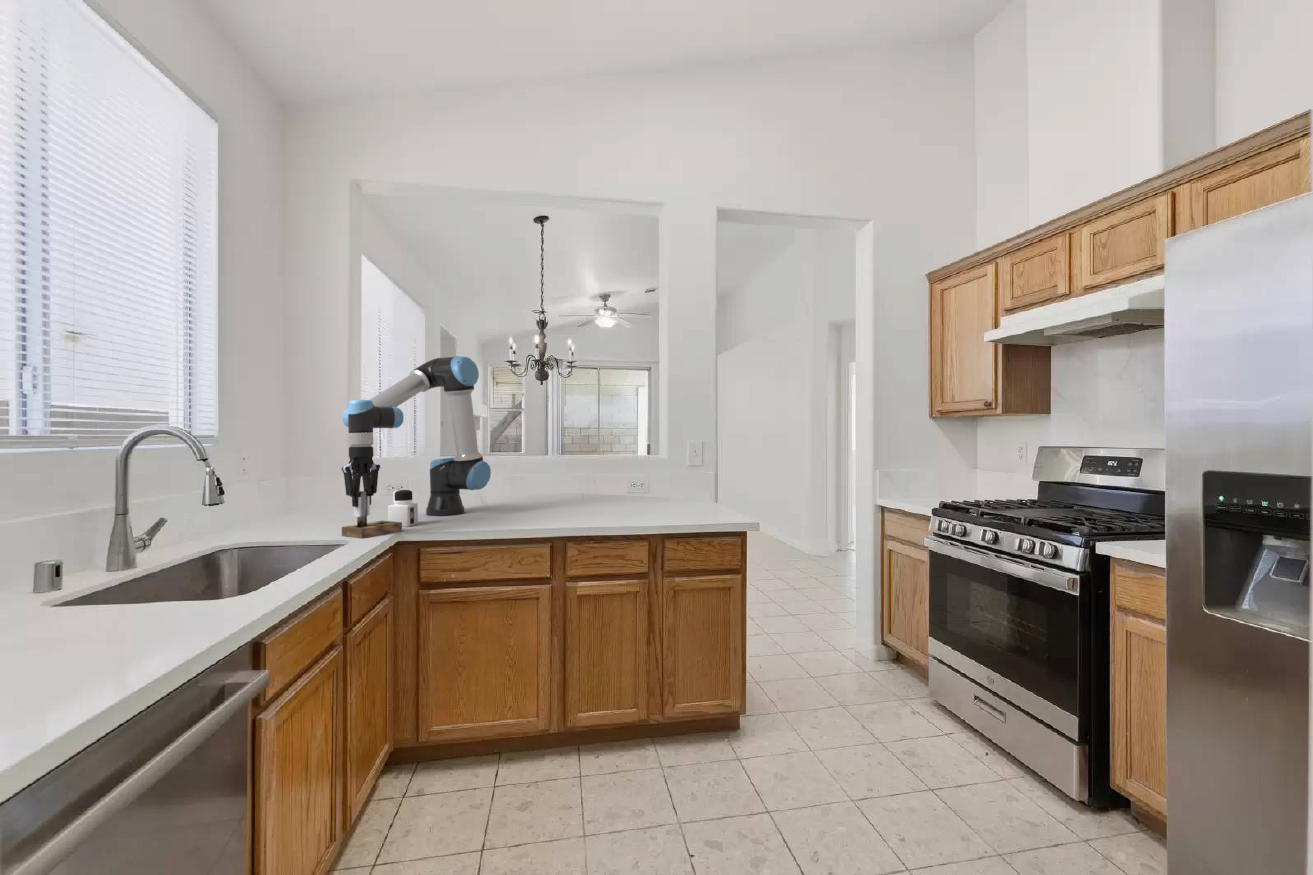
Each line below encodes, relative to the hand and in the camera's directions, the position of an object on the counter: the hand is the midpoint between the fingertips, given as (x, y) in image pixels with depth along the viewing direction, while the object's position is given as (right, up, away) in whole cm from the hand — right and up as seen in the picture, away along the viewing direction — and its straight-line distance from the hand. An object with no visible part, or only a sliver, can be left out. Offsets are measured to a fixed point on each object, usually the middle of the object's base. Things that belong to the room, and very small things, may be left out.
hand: (361, 515), depth 210 cm
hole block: (+2, -7, +4) cm, 8 cm away
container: (+5, -6, +21) cm, 23 cm away
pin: (0, -4, 0) cm, 4 cm away
